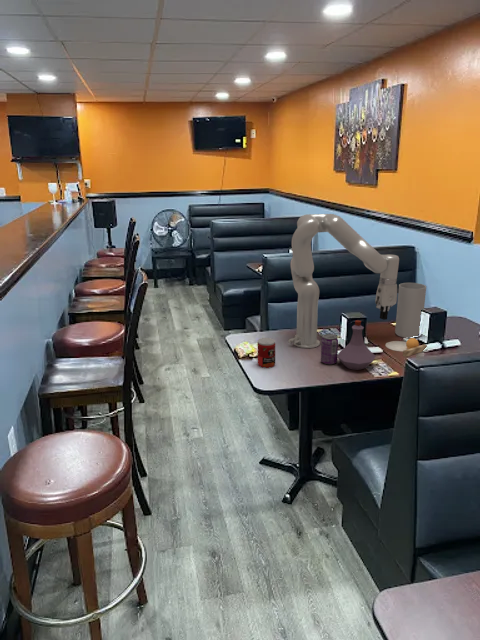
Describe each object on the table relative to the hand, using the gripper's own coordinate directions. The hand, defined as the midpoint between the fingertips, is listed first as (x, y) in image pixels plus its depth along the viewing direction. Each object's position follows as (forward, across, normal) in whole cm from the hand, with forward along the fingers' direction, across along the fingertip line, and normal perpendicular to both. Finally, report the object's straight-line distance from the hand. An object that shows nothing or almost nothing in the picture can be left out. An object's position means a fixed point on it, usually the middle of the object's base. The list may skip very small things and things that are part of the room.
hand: (383, 318), depth 238 cm
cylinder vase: (+10, +17, -2) cm, 20 cm away
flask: (+12, -32, -16) cm, 37 cm away
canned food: (+14, -62, +6) cm, 64 cm away
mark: (+11, +1, -11) cm, 15 cm away
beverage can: (+13, -38, -7) cm, 41 cm away
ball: (+8, +2, -17) cm, 19 cm away
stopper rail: (+10, 0, -20) cm, 23 cm away
